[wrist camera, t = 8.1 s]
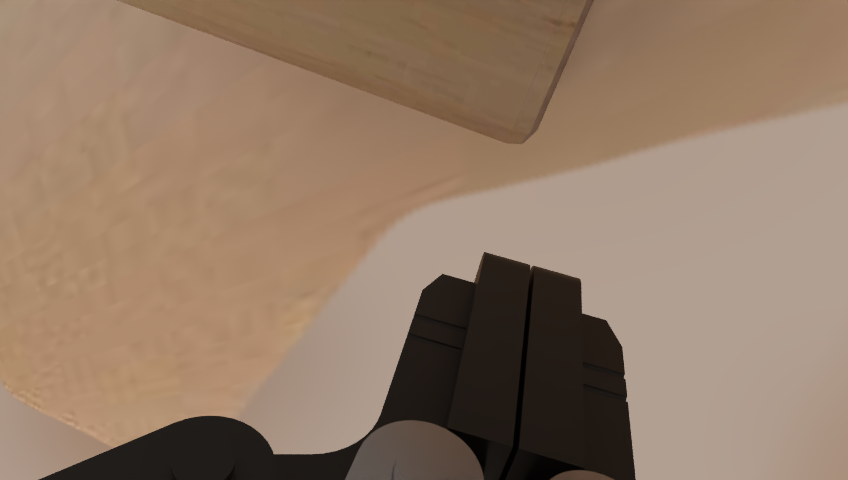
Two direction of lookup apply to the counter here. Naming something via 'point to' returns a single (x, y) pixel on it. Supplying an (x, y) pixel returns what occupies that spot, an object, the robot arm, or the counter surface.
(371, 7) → the wooden block
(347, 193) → the counter surface
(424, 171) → the counter surface
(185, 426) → the robot arm
